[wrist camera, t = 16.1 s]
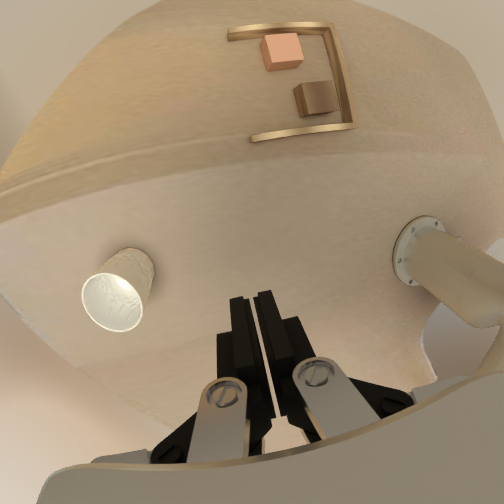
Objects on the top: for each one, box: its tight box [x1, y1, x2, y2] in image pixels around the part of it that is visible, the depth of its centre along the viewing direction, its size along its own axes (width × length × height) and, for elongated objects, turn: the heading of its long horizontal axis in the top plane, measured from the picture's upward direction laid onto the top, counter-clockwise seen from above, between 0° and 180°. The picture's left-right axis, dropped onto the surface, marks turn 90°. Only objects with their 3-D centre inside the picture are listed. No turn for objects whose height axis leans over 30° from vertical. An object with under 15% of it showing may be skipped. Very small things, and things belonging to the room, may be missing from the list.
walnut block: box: [293, 80, 339, 117], centre depth 31 cm, size 4×4×4 cm
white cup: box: [82, 248, 155, 332], centre depth 33 cm, size 8×8×10 cm
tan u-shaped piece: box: [227, 22, 359, 143], centre depth 30 cm, size 14×16×3 cm
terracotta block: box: [260, 33, 304, 71], centre depth 28 cm, size 4×4×4 cm
